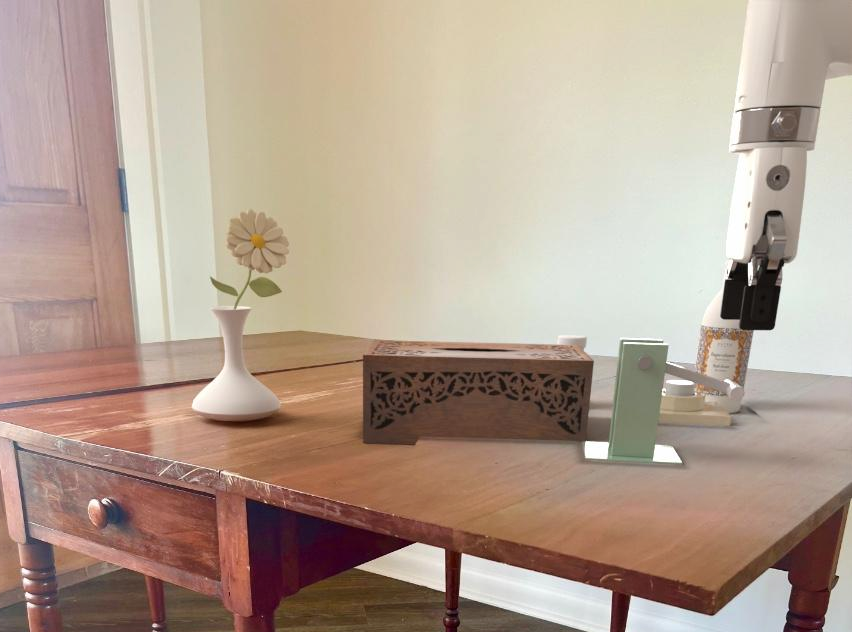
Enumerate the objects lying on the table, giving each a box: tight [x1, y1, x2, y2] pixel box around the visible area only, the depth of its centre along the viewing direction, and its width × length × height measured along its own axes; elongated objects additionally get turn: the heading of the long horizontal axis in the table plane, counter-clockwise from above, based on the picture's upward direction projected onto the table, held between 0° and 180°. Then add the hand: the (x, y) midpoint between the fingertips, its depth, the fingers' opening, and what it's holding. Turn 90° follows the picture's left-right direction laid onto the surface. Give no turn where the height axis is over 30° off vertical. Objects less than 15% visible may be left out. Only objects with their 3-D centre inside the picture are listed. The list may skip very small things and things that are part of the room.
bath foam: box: [693, 259, 755, 415], centre depth 120 cm, size 7×7×20 cm
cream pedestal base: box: [658, 388, 733, 427], centre depth 114 cm, size 12×10×4 cm
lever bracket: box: [581, 337, 684, 466], centre depth 92 cm, size 10×8×13 cm
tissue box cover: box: [362, 339, 595, 446], centre depth 105 cm, size 26×14×10 cm, turn 86°
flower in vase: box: [191, 208, 290, 422], centre depth 108 cm, size 13×11×25 cm
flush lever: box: [665, 361, 746, 401], centre depth 90 cm, size 12×5×2 cm, turn 82°
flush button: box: [664, 379, 695, 396], centre depth 113 cm, size 4×4×2 cm
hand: (745, 324), depth 88 cm, fingers open, 9 cm apart
